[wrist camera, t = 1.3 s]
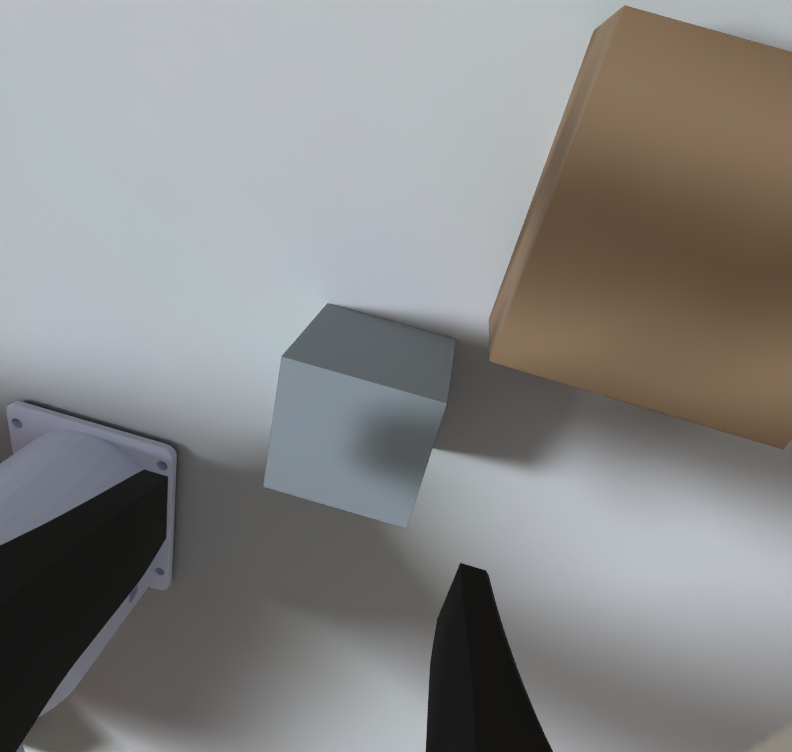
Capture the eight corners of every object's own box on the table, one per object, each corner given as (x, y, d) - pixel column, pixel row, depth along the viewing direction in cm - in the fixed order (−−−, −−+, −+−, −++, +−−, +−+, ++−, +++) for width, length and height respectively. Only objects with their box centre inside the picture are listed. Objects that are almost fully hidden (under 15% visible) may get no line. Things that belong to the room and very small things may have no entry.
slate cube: (422, 444, 22) (406, 528, 17) (308, 412, 22) (262, 486, 17) (456, 338, 19) (447, 403, 15) (328, 302, 20) (281, 356, 15)
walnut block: (727, 387, 19) (783, 449, 15) (488, 316, 19) (489, 361, 16) (899, 119, 15) (1030, 119, 11) (591, 32, 15) (624, 5, 11)
